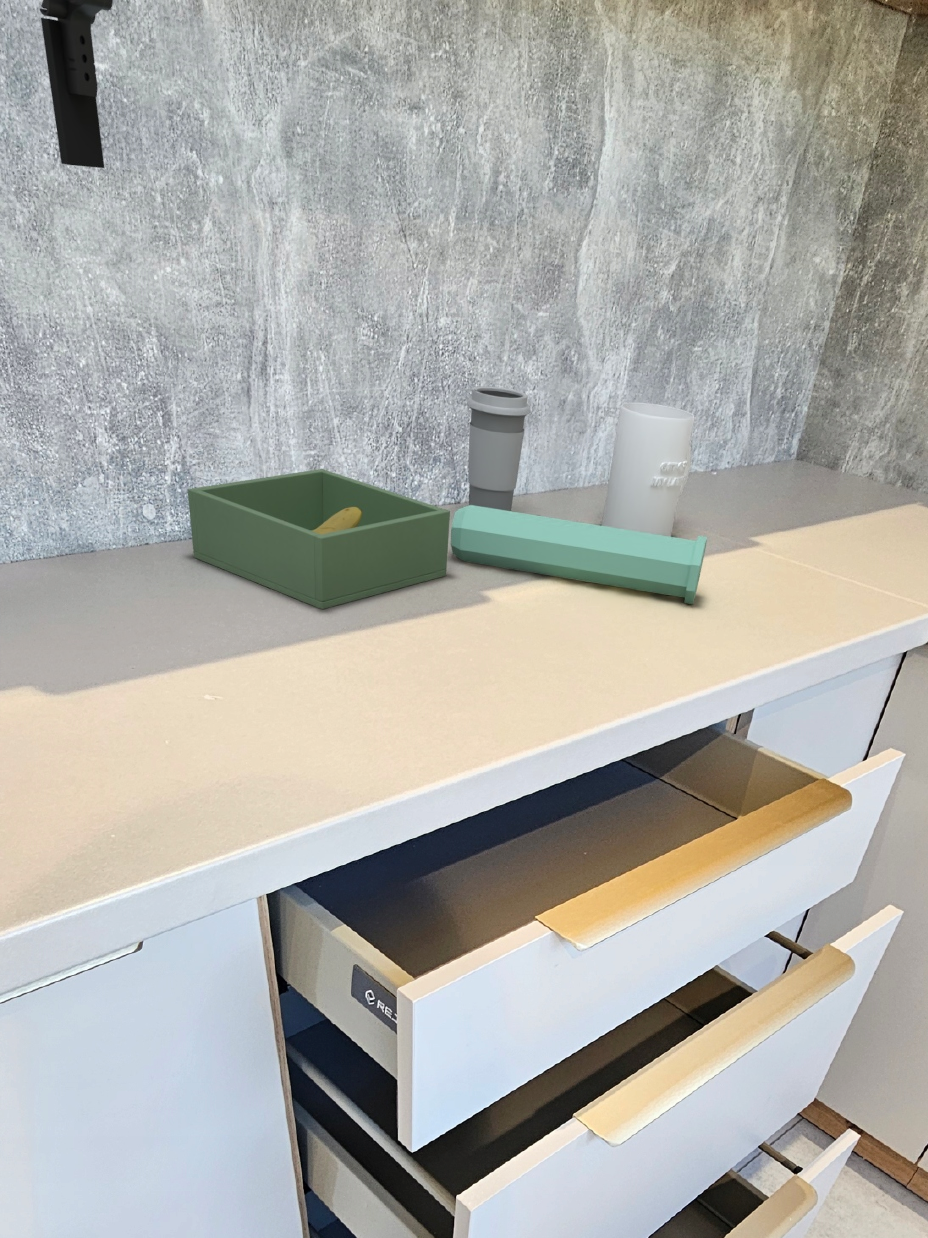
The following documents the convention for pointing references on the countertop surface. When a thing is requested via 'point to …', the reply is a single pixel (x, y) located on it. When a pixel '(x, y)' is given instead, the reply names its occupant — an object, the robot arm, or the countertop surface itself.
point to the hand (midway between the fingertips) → (21, 155)
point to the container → (578, 551)
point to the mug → (648, 468)
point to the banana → (340, 521)
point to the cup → (495, 445)
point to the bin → (318, 536)
